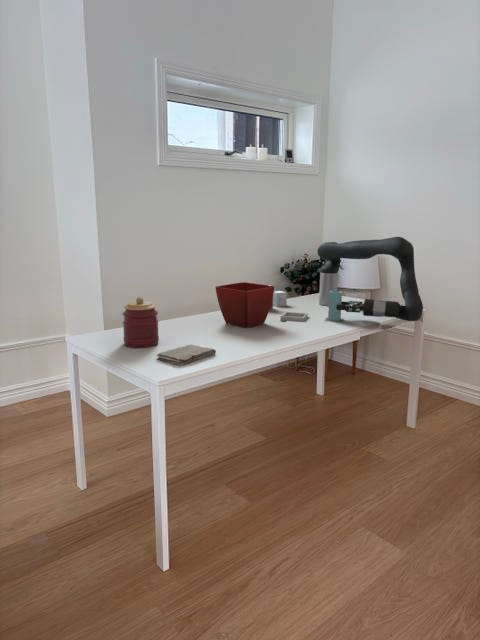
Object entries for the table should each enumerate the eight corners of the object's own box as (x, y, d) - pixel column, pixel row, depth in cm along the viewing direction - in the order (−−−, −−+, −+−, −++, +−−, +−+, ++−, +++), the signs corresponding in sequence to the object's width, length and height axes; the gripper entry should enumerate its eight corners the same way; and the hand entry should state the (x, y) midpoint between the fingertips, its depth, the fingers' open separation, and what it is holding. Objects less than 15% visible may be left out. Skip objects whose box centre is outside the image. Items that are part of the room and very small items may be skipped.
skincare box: (286, 306, 253) (287, 292, 252) (276, 306, 251) (277, 293, 249) (280, 304, 259) (281, 290, 257) (271, 304, 256) (271, 291, 254)
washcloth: (154, 361, 159) (154, 352, 159) (191, 349, 173) (191, 341, 173) (180, 368, 152) (180, 359, 152) (216, 355, 166) (216, 347, 166)
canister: (127, 350, 170) (125, 301, 167) (120, 341, 182) (118, 295, 178) (162, 346, 176) (161, 299, 172) (154, 337, 187) (153, 293, 183)
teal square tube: (329, 318, 222) (331, 290, 219) (340, 319, 220) (342, 291, 217) (328, 320, 217) (329, 292, 214) (339, 321, 215) (340, 292, 212)
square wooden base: (326, 318, 223) (327, 311, 223) (344, 320, 221) (344, 312, 220) (324, 322, 216) (324, 314, 215) (342, 323, 214) (342, 315, 213)
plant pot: (214, 323, 212) (214, 286, 208) (243, 317, 226) (243, 281, 222) (246, 331, 199) (246, 291, 196) (274, 323, 213) (275, 286, 209)
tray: (285, 316, 228) (285, 311, 227) (307, 318, 225) (307, 313, 224) (280, 320, 218) (280, 316, 218) (303, 322, 215) (303, 317, 214)
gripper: (376, 297, 217) (340, 294, 222) (374, 302, 204) (336, 299, 209) (374, 313, 219) (339, 310, 224) (373, 319, 206) (335, 316, 211)
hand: (337, 305), depth 217 cm, fingers open, 8 cm apart
